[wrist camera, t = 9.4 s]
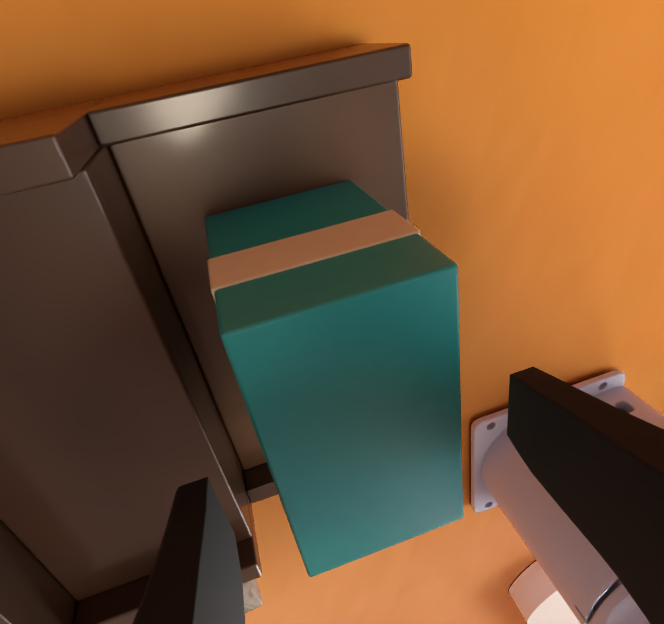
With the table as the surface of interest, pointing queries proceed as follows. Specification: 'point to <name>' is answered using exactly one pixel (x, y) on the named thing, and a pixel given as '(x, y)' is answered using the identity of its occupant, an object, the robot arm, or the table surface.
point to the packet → (344, 365)
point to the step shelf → (150, 309)
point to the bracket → (540, 598)
